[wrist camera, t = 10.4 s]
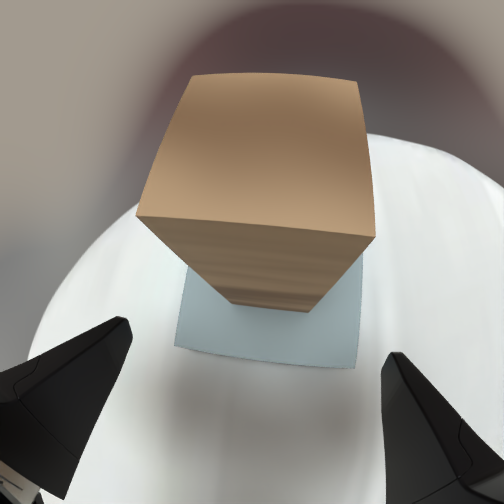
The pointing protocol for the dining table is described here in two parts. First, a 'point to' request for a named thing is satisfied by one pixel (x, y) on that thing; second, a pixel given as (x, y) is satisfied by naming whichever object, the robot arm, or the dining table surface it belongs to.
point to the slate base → (274, 325)
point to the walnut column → (264, 186)
